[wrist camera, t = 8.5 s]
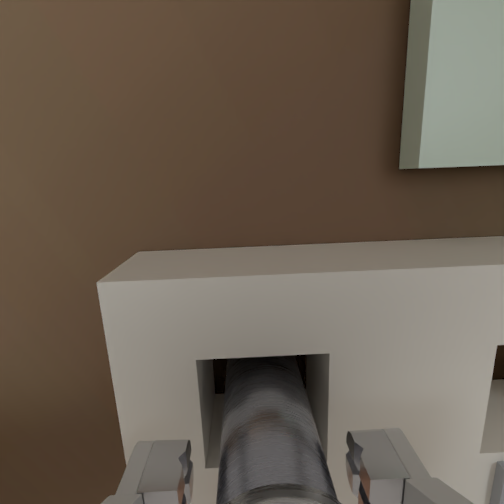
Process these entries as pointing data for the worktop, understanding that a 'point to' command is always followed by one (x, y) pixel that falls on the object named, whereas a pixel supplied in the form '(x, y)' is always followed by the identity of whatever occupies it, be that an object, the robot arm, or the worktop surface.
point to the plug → (270, 437)
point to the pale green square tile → (454, 85)
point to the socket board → (319, 347)
